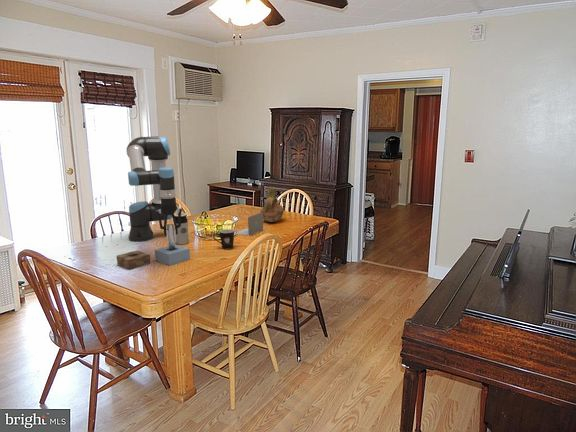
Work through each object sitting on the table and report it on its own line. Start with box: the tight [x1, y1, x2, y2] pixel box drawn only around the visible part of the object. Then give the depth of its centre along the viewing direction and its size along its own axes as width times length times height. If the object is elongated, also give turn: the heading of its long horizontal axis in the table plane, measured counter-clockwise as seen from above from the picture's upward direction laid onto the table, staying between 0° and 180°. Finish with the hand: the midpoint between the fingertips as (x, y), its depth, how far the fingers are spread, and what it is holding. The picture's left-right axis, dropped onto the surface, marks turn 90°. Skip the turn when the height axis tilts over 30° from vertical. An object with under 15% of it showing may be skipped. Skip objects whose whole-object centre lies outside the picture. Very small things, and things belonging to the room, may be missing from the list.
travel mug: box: [173, 212, 190, 246], centre depth 252 cm, size 8×8×18 cm
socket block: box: [154, 243, 191, 266], centre depth 222 cm, size 13×13×6 cm
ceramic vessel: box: [259, 187, 285, 223], centre depth 306 cm, size 17×26×25 cm, turn 172°
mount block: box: [116, 250, 151, 271], centre depth 216 cm, size 12×12×5 cm
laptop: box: [235, 211, 264, 237], centre depth 278 cm, size 18×12×13 cm
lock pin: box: [166, 223, 176, 251], centre depth 220 cm, size 3×3×15 cm
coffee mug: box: [212, 228, 235, 250], centre depth 243 cm, size 12×9×10 cm
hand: (171, 240), depth 220 cm, fingers closed on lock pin, 3 cm apart
